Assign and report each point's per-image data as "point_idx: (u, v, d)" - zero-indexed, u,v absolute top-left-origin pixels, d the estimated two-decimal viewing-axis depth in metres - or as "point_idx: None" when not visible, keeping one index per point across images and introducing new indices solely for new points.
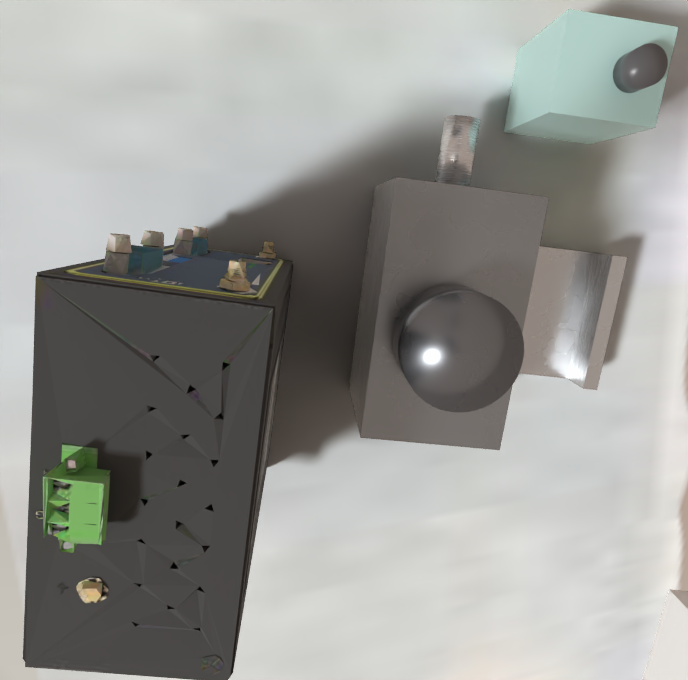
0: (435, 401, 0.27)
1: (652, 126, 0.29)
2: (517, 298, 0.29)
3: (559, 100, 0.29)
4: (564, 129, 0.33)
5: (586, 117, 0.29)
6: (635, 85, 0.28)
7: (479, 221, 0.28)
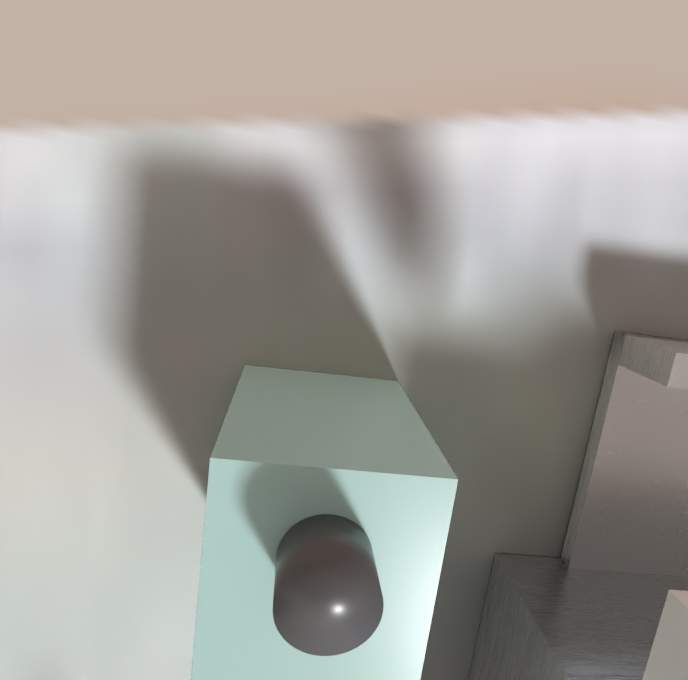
0: None
1: (454, 486, 0.11)
2: None
3: None
4: None
5: (426, 640, 0.12)
6: None
7: None
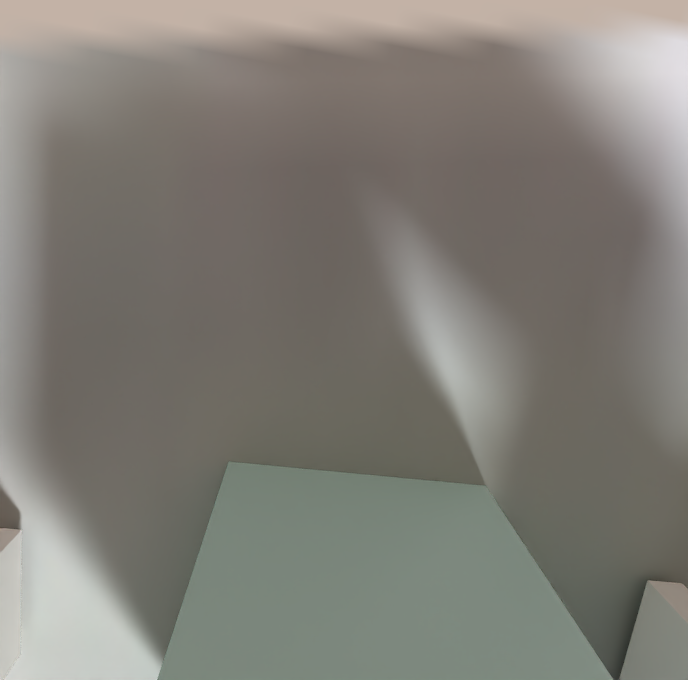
0: None
1: None
2: None
3: None
4: None
5: None
6: None
7: None
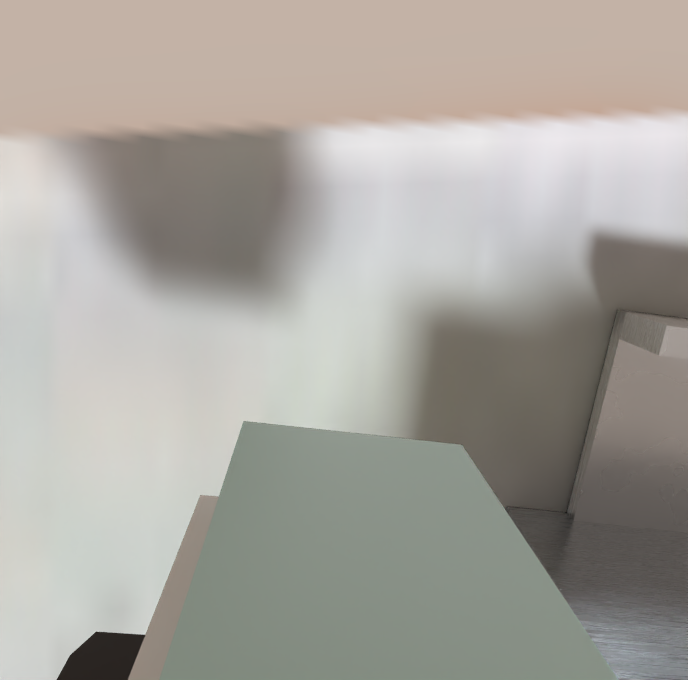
0: None
1: None
2: None
3: None
4: None
5: None
6: None
7: None
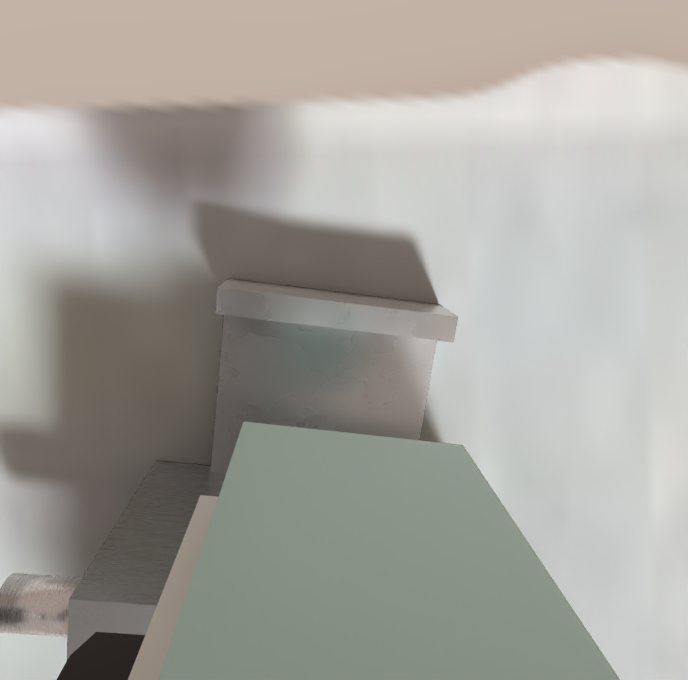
0: None
1: None
2: None
3: None
4: None
5: None
6: None
7: None
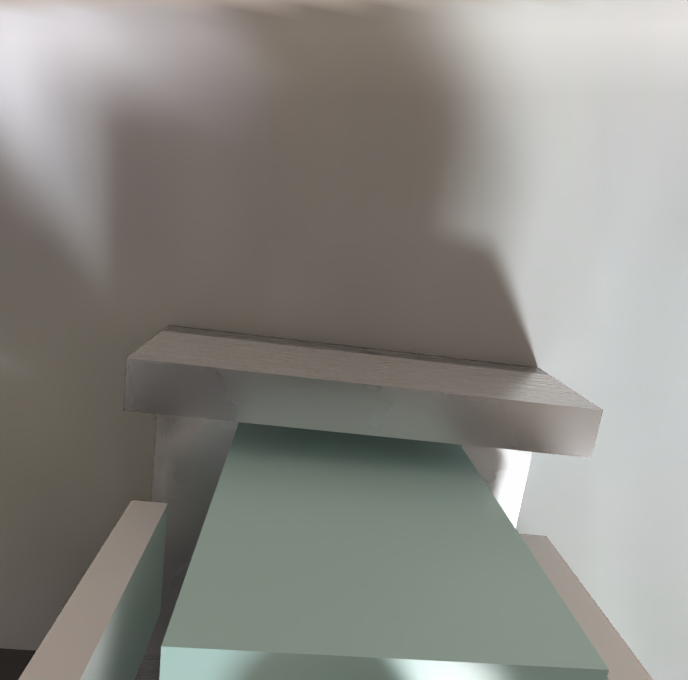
0: None
1: None
2: None
3: None
4: None
5: None
6: None
7: None
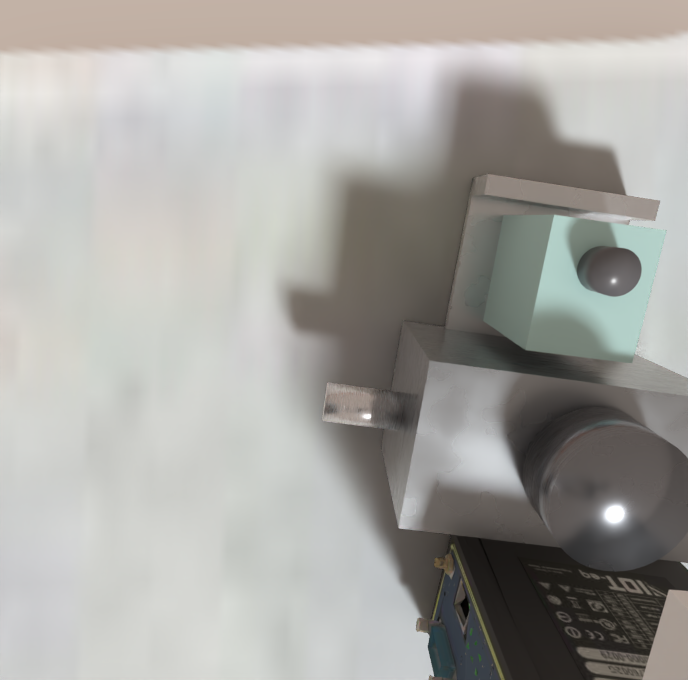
0: (678, 534, 0.22)
1: (664, 234, 0.23)
2: (548, 391, 0.23)
3: (620, 352, 0.25)
4: None
5: (642, 318, 0.24)
6: None
7: (452, 439, 0.24)
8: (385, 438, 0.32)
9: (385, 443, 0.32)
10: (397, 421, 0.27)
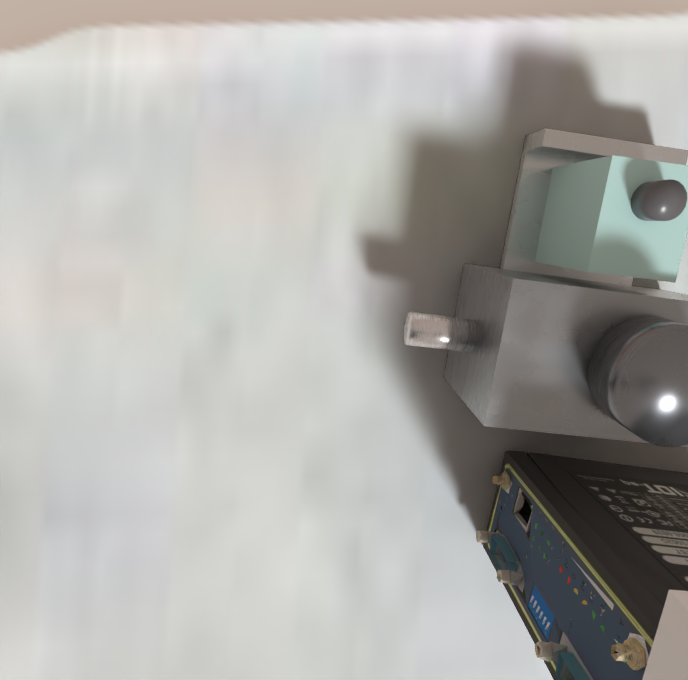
0: None
1: None
2: (610, 303, 0.28)
3: (666, 273, 0.29)
4: None
5: (683, 243, 0.29)
6: None
7: (530, 346, 0.28)
8: (450, 368, 0.36)
9: (450, 372, 0.36)
10: (472, 342, 0.32)
